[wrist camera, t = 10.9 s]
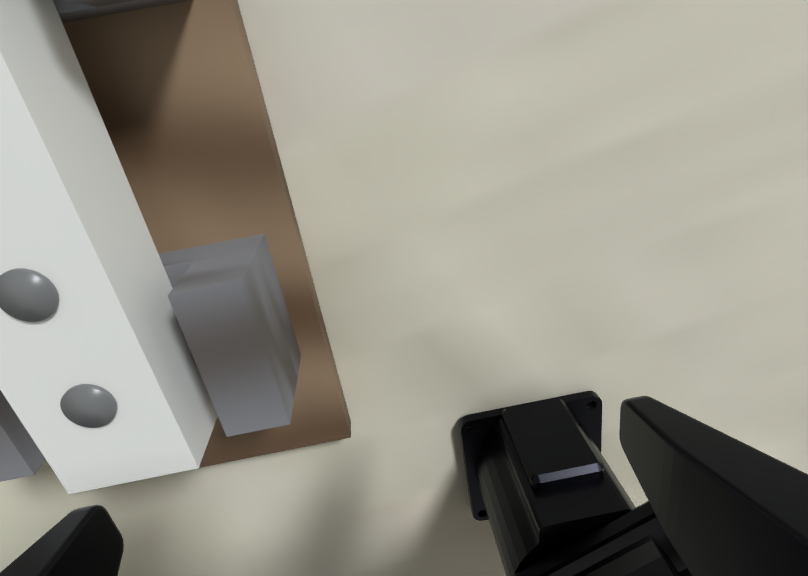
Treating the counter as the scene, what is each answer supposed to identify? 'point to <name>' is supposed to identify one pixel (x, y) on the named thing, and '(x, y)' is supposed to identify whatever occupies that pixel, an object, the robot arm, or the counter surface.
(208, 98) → the cradle board
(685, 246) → the counter surface
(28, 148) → the white bar
